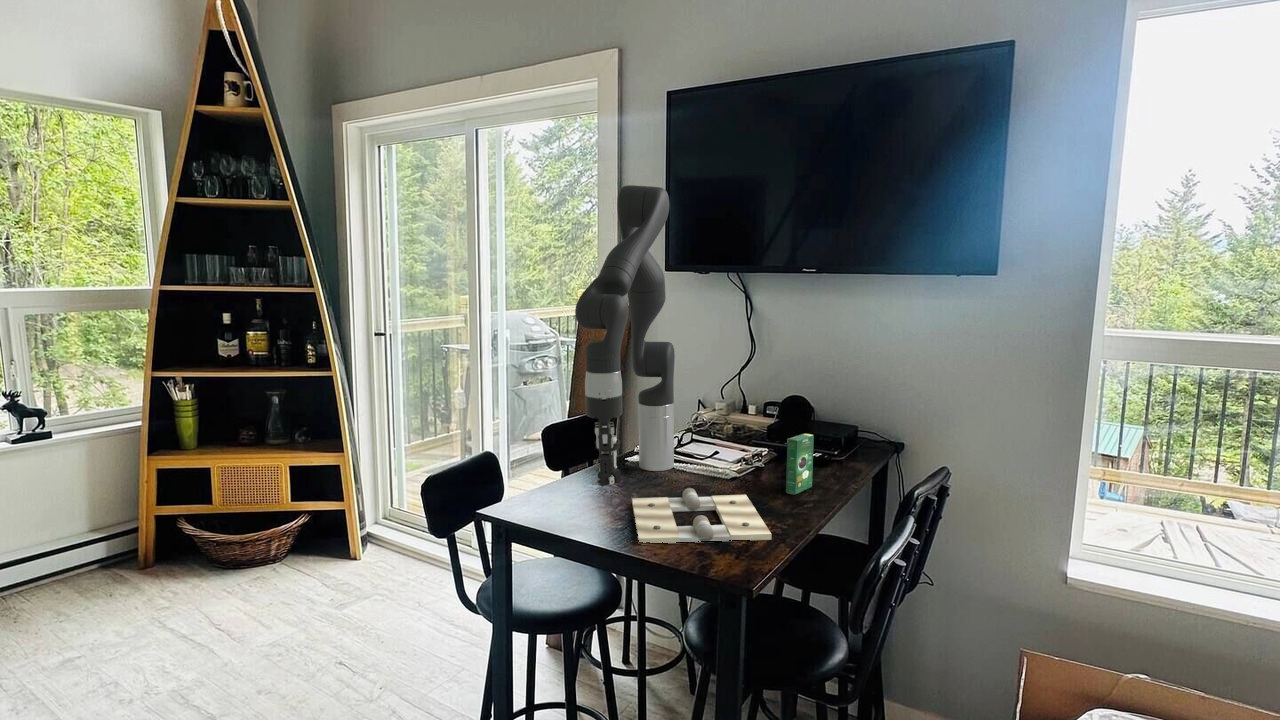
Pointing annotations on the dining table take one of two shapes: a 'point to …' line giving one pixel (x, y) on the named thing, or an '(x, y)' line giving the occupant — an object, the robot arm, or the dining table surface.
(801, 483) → the coffee box
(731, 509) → the hinge plate
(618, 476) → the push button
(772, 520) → the dining table surface
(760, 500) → the dining table surface
